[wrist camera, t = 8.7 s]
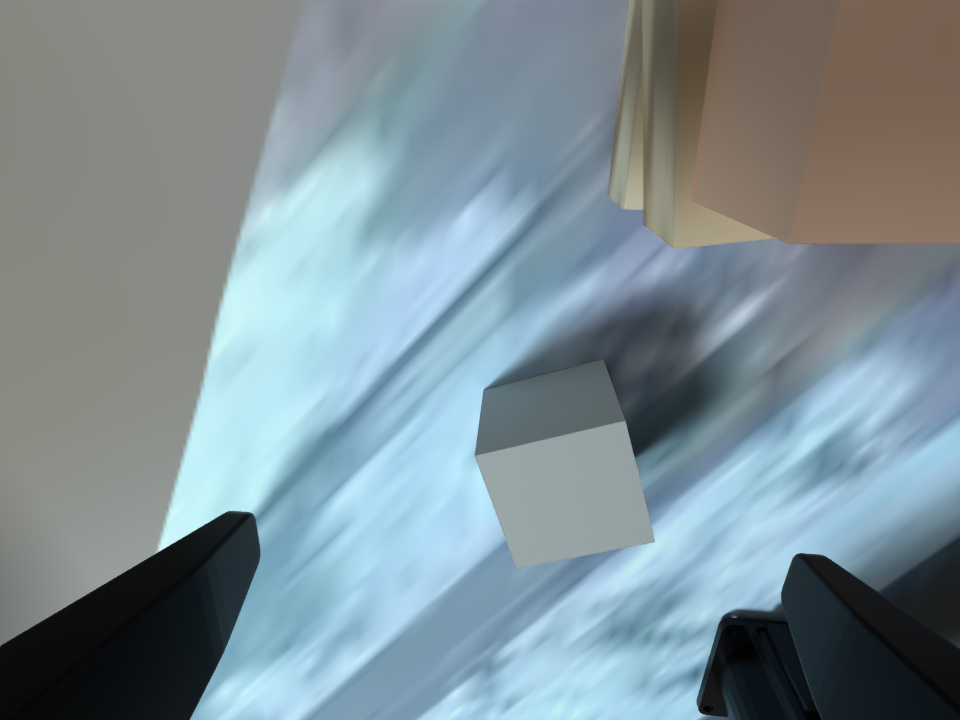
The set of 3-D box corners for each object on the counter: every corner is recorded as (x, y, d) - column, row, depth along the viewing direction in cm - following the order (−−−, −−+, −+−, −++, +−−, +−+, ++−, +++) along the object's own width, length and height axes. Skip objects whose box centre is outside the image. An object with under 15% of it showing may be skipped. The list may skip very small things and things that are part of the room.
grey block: (628, 460, 24) (655, 541, 19) (517, 485, 24) (516, 568, 20) (603, 358, 22) (625, 420, 17) (483, 389, 23) (474, 456, 18)
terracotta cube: (993, -71, 10) (1369, -224, 6) (914, 199, 12) (1150, 243, 8) (726, -62, 11) (882, -201, 6) (690, 200, 13) (789, 243, 8)
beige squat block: (892, 197, 16) (989, 215, 12) (643, 224, 16) (674, 248, 13) (943, -107, 13) (1084, -183, 10) (642, -57, 14) (680, -114, 10)
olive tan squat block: (808, 201, 19) (866, 216, 16) (606, 195, 19) (623, 209, 16) (868, -41, 16) (955, -81, 13) (632, -42, 17) (659, -82, 13)
